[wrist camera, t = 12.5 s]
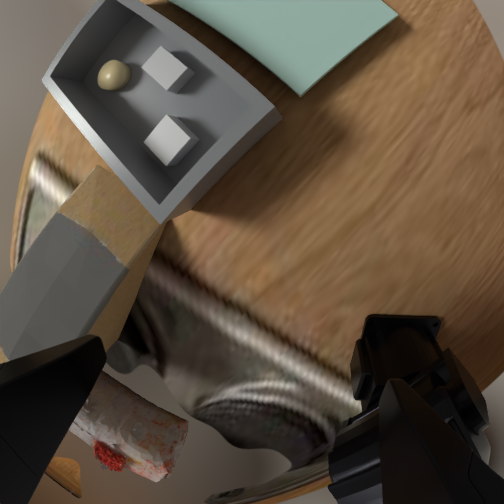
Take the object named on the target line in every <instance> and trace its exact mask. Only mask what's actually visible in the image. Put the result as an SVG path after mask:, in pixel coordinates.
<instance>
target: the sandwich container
mask: <svg viewBox="0 0 504 504" xmlns="http://www.w3.org/2000/svg"><path fill="white" fill-rule="evenodd" d="M166 223H167V222H165V223H163V224H161V225H160V224H159V222H158V221H157V220H156V219H155V218H154V217H153V216H152V215H151V214H150V212H149V211H148V210H147V209H146V208H145V207H144V206H143V205H142V203H141V202H140V201H139V200H138V199H137V198H136V197H135V195H134V194H133V193H132V192H131V191H130V190H129V189H128V187H127V186H126V185H125V184H124V183H123V182H122V181H121V179H120V178H119V177H118V176H116V175H114V174H113V173H111V172H109V171H108V170H106V169H105V168H103V167H101V166H100V165H97V166H96V167H95V168H94V169H93V170H92V171H91V172H90V173H89V174H88V175H87V177H86V178H85V179H84V180H83V181H82V182H81V183H80V184H79V186H78V187H77V188H76V189H75V190H74V191H73V193H72V194H71V195H70V196H69V197H68V199H67V200H66V201H65V202H64V203H63V205H62V206H61V207H60V208H59V210H58V211H57V212H56V213H55V215H54V216H53V217H52V218H51V220H50V221H49V222H48V224H47V225H46V226H45V227H44V229H43V230H42V231H41V233H40V234H39V236H38V237H37V238H36V240H35V241H34V242H33V244H32V245H31V247H30V248H29V250H28V251H27V252H26V254H25V255H24V257H23V258H22V259H21V261H20V262H19V264H18V265H17V267H16V268H15V270H14V271H13V273H12V275H11V276H10V278H9V280H8V281H7V283H6V285H5V286H4V288H3V290H2V291H1V293H0V364H1V363H4V362H7V361H10V360H13V359H16V358H20V357H23V356H26V355H29V354H32V353H35V352H38V351H41V350H44V349H47V348H50V347H53V346H56V345H59V344H62V343H65V342H68V341H70V340H73V339H76V338H79V337H82V336H85V335H88V334H93V335H96V336H99V337H100V338H101V339H102V342H103V345H104V349H105V352H106V351H107V350H108V349H109V348H110V347H111V346H112V345H113V344H114V343H115V342H116V341H117V339H118V338H119V336H120V334H121V331H122V329H123V327H124V324H125V322H126V320H127V317H128V315H129V313H130V310H131V308H132V306H133V304H134V301H135V299H136V296H137V293H138V291H139V288H140V285H141V283H142V280H143V278H144V275H145V273H146V270H147V268H148V265H149V263H150V260H151V258H152V256H153V253H154V251H155V248H156V246H157V244H158V241H159V239H160V237H161V234H162V232H163V230H164V228H165V225H166Z"/></svg>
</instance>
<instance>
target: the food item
mask: <svg viewBox="0 0 504 504" xmlns="http://www.w3.org/2000/svg"><path fill="white" fill-rule="evenodd" d="M69 430H70V431H71V432H73V433H74V434H75V435H77V436H78V437H80V439H83V440H84V441H85V442H86V443H88V444H89V445H90V446H92V447H93V448H94V450H93V454H94V455H95V457H96V459H99V460H100V462H101V464H102V465H101V468H102V467H103V468H102V469H108V468H110V470H111V471H112V470H113V469H114V470H115V471H119V472H121V470H122V468H123V467H125V468H128V469H130V470H131V471H133V472H135V473H137V474H139V475H142V476H143V477H146V478H148V479H150V480H152V481H154V482H158V481H160V480H162V478H169V477H170V475H171V473H172V467H174V466H175V463H176V460H177V459H178V457H179V455H180V453H181V450H182V447H183V445H184V442H185V438H186V436H187V432H188V421H186V420H185V419H182V418H180V417H178V416H176V415H174V414H172V413H170V412H168V411H166V410H164V409H162V408H160V407H157V406H156V405H155V404H153V403H151V402H149V401H147V400H146V399H145V398H142V397H141V396H140V395H138V394H136V393H135V392H133V391H132V390H131V389H129V388H128V387H127V386H125V385H123V384H121V383H120V382H118V381H117V380H115V379H114V378H112V377H111V376H110V375H108V374H107V373H105V372H104V371H103V370H102V371H101V373H100V375H99V377H98V379H97V381H96V383H95V385H94V387H93V389H92V391H91V393H90V395H89V397H88V398H87V400H86V402H85V403H84V405H83V407H82V408H81V410H80V411H79V413H78V415H77V416H76V418H75V420H74V421H73V423H72V425H71V426H70V428H69ZM123 469H124V468H123Z"/></svg>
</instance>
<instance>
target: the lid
mask: <svg viewBox="0 0 504 504" xmlns="http://www.w3.org/2000/svg"><path fill="white" fill-rule="evenodd" d="M167 1H169V2H171V3H173V4H174V5H176V6H178V7H179V8H181V9H183V10H185V11H186V12H188V13H190V14H191V15H193V16H194V17H196V18H198V19H199V20H201V21H202V22H204V23H205V24H207V25H208V26H210V27H212V28H213V29H215V30H216V31H217V32H219V33H220V34H222V35H223V36H225V37H226V38H228V39H229V40H230V41H232V42H233V43H235V44H236V45H237V46H239V47H240V48H241V49H243V50H244V51H245V52H247V53H248V54H249V55H251V56H252V57H253V58H254V59H256V60H257V61H258V62H260V63H261V64H262V65H263V66H265V67H266V68H267V69H268V70H269V71H271V72H272V73H273V74H274V75H276V76H277V77H278V78H279V79H280V80H281V81H283V82H284V83H285V84H286V85H287V86H288V87H289V88H291V89H292V90H293V91H294V92H295V93H296V94H297V95H298V96H300V97H302V96H303V95H304V94H305V93H306V92H307V91H308V90H309V89H310V88H311V87H313V86H314V85H315V84H316V83H317V82H318V81H319V80H320V79H322V78H323V77H324V76H325V75H326V74H327V73H328V72H330V71H331V70H332V69H333V68H334V67H335V66H337V65H338V64H339V63H340V62H341V61H342V60H344V59H345V58H346V57H347V56H348V55H350V54H351V53H352V52H353V51H355V50H356V49H357V48H358V47H359V46H361V45H362V44H363V43H364V42H366V41H367V40H368V39H369V38H371V37H372V36H373V35H375V34H376V33H377V32H378V31H380V30H381V29H382V28H384V27H385V26H386V25H388V24H389V23H390V22H392V21H393V20H394V19H396V18H397V16H398V14H397V13H396V12H395V11H393V10H392V9H391V8H390V7H389V6H387V5H386V4H385V3H384V2H383V1H381V0H167Z"/></svg>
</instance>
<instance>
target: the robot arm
mask: <svg viewBox="0 0 504 504" xmlns="http://www.w3.org/2000/svg"><path fill="white" fill-rule="evenodd" d="M371 320H374V322H373V323H369V322H370V321H371ZM434 322H436V324H434V325H433V323H434ZM440 325H441V321H440V319H439V318H438V317H435V316H399V315H376V314H371V315H369V316H367V317H366V319H365V323H364V327H363V331H362V335H361V339H358V340H357V341H356V344H355V348H354V352H353V356H352V359H351V363H350V368H351V379H352V386H353V396H354V399H355V400H361V405H362V412H361V413H360V414H358V415H356V416H355V417H353V418H349V419H347V420H345V421H344V422H343V424H342V427H341V430H340V432H339V433H338V435H337V436H336V438H335V442H334V447H333V450H332V451H330V452H329V454H328V466H329V475H330V478H331V481H332V484H329V485H328V489H329V491H330V492H331V493H332V495H333V496H334V498H335V499H336V500H337V502H338V504H504V479H503V478H502V477H501V476H500V475H498V474H497V473H496V472H495V471H494V470H493V469H492V468H490V467H489V466H488V462H489V457H490V445H489V443H488V441H487V438H486V436H485V434H484V432H483V430H484V429H485V428H487V427H488V426H489V425H490V422H489V417H488V411H487V405H486V401H485V399H484V397H483V395H482V393H481V391H480V390H479V388H478V386H477V384H476V382H475V381H474V379H473V378H472V376H471V375H470V374H469V372H468V371H467V370H466V369H465V367H464V366H463V365H462V363H461V362H460V361H459V360H458V358H457V357H456V356H455V355H454V353H453V352H452V351H451V350H450V349H449V347H448V348H447V349H446V350H445V351H444V352H442V350H441V348H440V346H439V345H438V343H437V341H436V336H437V333H438V331H439V328H440ZM106 360H107V355H106V352H105V349H104V345H103V342H102V339H101V338H100V337H99V336H96V335H93V334H88V335H85V336H82V337H79V338H76V339H73V340H70V341H68V342H65V343H62V344H59V345H56V346H53V347H50V348H47V349H44V350H41V351H38V352H35V353H32V354H29V355H26V356H23V357H20V358H16V359H13V360H10V361H7V362H4V363H1V364H0V503H1V504H28V503H29V502H30V499H31V498H32V496H33V494H34V492H35V489H36V488H37V486H38V484H39V482H40V480H41V478H42V476H43V474H44V472H45V470H46V469H47V467H48V465H49V463H50V461H51V459H52V458H53V456H54V454H55V452H56V451H57V449H58V447H59V445H60V444H61V442H62V440H63V438H64V437H65V435H66V433H67V431H68V430H69V428H70V426H71V425H72V423H73V421H74V420H75V418H76V416H77V415H78V413H79V411H80V410H81V408H82V407H83V405H84V403H85V402H86V400H87V398H88V397H89V395H90V393H91V391H92V389H93V387H94V385H95V383H96V381H97V379H98V377H99V375H100V373H101V371H102V369H103V367H104V365H105V363H106Z"/></svg>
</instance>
